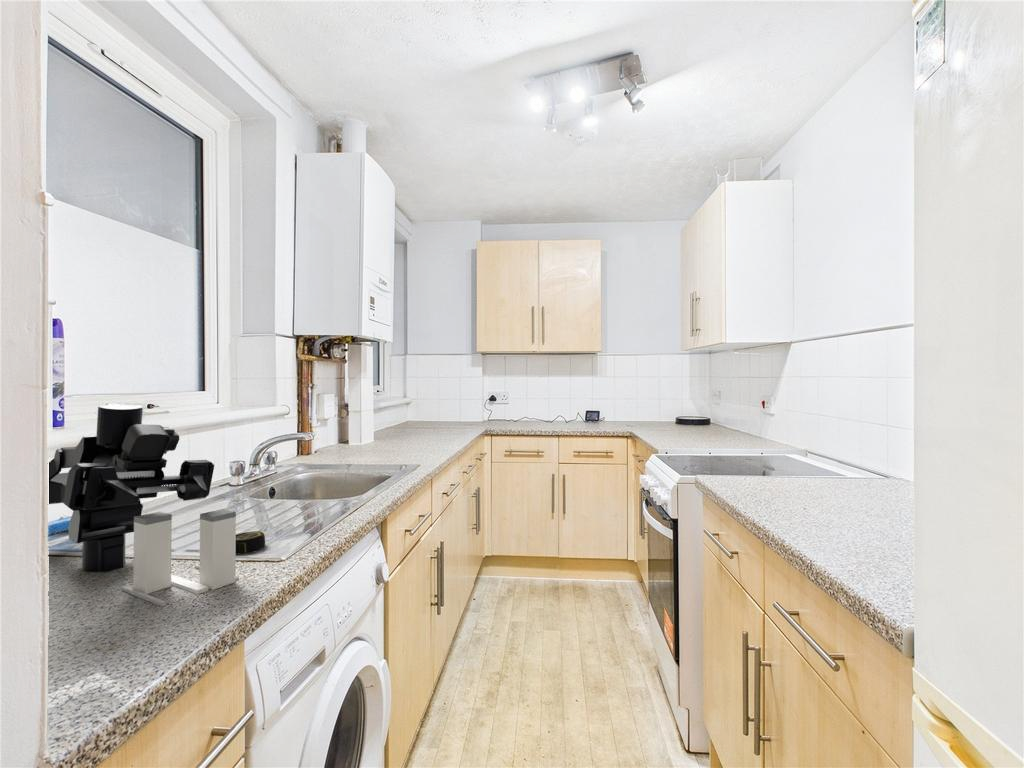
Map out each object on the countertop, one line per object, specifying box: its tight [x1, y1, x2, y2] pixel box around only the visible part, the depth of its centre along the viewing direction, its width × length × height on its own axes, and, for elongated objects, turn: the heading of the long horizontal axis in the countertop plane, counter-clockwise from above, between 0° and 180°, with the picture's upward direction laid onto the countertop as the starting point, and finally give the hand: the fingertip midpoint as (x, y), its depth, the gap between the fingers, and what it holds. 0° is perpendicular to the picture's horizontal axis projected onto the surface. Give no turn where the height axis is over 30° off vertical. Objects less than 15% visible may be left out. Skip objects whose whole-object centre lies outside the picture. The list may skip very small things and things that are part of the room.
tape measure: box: [236, 530, 266, 555], centre depth 94 cm, size 7×7×4 cm
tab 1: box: [133, 511, 173, 595], centre depth 75 cm, size 4×4×11 cm
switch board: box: [121, 564, 240, 607], centre depth 77 cm, size 14×11×2 cm
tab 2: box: [199, 508, 237, 591], centre depth 77 cm, size 4×4×11 cm
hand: (173, 496), depth 72 cm, fingers open, 9 cm apart
